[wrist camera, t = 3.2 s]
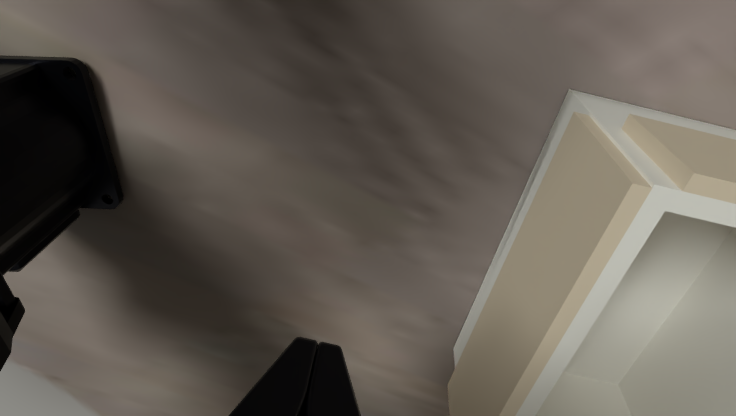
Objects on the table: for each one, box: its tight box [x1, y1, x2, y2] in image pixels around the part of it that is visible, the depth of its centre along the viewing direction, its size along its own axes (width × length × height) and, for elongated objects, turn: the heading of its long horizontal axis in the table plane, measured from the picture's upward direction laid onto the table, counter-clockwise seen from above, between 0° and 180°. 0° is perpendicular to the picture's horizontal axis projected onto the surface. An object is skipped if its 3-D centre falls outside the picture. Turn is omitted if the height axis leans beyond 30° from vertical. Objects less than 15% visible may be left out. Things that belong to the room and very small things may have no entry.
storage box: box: [447, 89, 736, 416], centre depth 19 cm, size 10×15×8 cm, turn 168°
